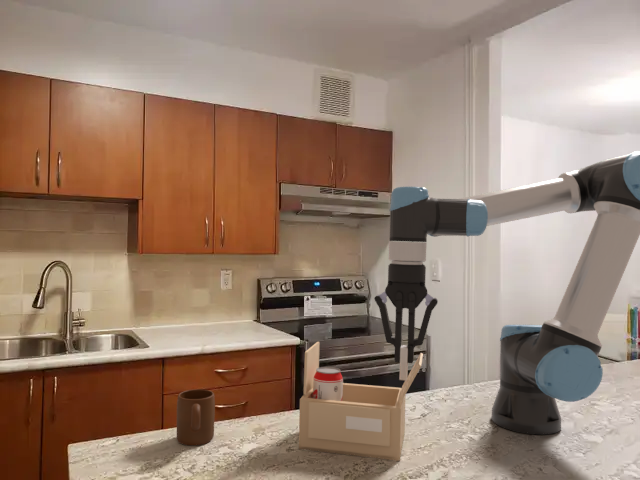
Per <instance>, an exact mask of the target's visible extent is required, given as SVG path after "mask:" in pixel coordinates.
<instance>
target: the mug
mask: <svg viewBox="0 0 640 480" xmlns="http://www.w3.org/2000/svg"><path fill="white" fill-rule="evenodd" d="M215 401H216V400H215V393H214V392H213V391H212V390H209V389H202V388H201V389H199V388H198V389H197V388H196V389H188V390H184V391H181V392H179V393H178V395H177V401H176V440H177V442H178V443H179V444H181V445H184V446H188V447H189V446H191V447H193V446H201V445H206V444H208V443H209V442H211V441H212V440H213V439H214V436H215V435H214V434H215V415H216V413H215V409H216V408H215V406H216V405H215V403H216V402H215Z"/></svg>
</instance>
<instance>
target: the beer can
mask: <svg viewBox="0 0 640 480" xmlns="http://www.w3.org/2000/svg"><path fill="white" fill-rule="evenodd" d="M343 383H344V378H343V375H342V373H341V369H340V368H338V367H333V366H321V367H320V366H319V368H317V369H316V373H315V375H314V379H313V399H324V400H335V401H342V395H343Z"/></svg>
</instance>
